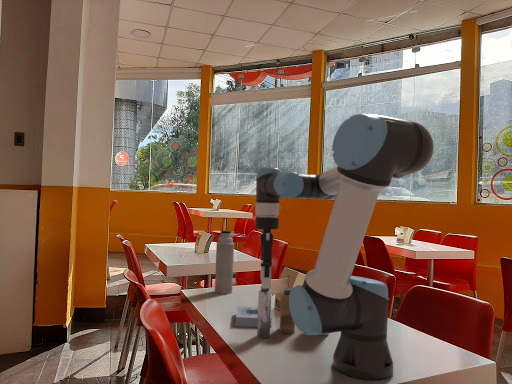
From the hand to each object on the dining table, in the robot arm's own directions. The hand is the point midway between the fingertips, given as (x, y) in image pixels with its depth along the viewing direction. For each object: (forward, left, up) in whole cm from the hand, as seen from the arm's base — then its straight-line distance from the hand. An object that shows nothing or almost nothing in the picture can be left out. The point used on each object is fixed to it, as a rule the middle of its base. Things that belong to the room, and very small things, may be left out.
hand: (265, 283), depth 127 cm
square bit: (+5, -8, -16) cm, 19 cm away
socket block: (+15, +3, -16) cm, 23 cm away
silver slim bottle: (-1, 0, -16) cm, 16 cm away
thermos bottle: (+57, +16, -16) cm, 62 cm away
